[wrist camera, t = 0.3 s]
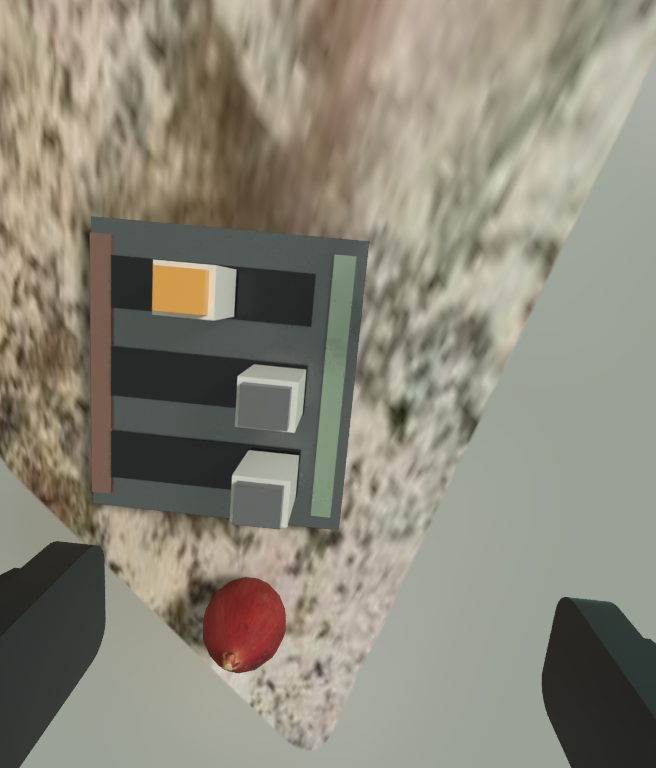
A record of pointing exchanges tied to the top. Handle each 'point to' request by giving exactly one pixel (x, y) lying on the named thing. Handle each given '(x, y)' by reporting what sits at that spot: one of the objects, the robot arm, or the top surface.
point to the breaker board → (219, 365)
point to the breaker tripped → (193, 290)
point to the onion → (244, 625)
